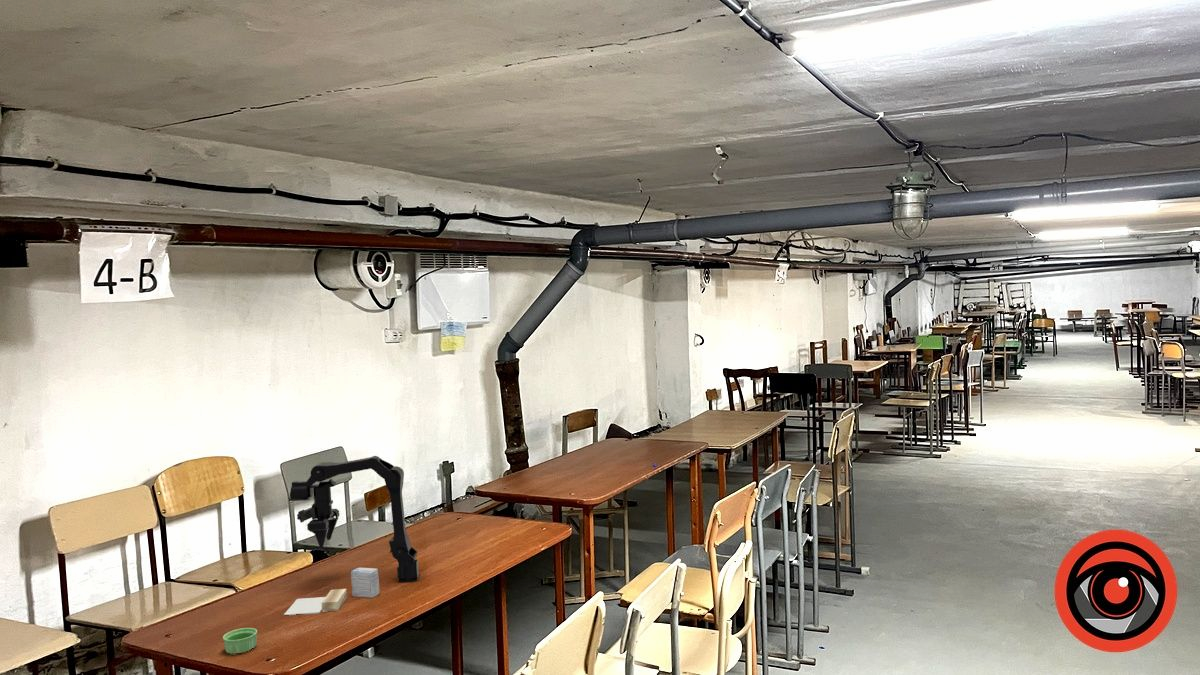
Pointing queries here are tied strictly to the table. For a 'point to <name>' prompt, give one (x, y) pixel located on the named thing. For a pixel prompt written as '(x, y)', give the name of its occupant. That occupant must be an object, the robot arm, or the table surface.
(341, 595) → the step block
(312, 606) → the mat
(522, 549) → the table surface
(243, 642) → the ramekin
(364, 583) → the medicine box
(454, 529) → the table surface
